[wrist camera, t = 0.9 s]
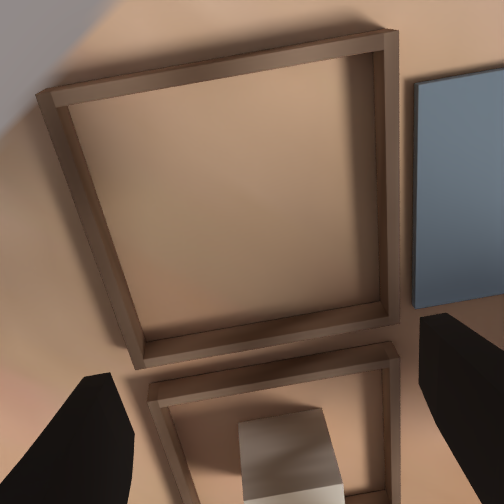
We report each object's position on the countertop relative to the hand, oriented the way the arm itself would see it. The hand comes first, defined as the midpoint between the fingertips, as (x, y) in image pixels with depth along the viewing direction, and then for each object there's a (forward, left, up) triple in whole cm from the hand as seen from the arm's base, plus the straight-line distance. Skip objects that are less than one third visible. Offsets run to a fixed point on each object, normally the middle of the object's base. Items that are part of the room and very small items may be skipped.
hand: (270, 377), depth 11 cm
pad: (-10, +1, -9) cm, 14 cm away
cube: (0, +14, -10) cm, 17 cm away
